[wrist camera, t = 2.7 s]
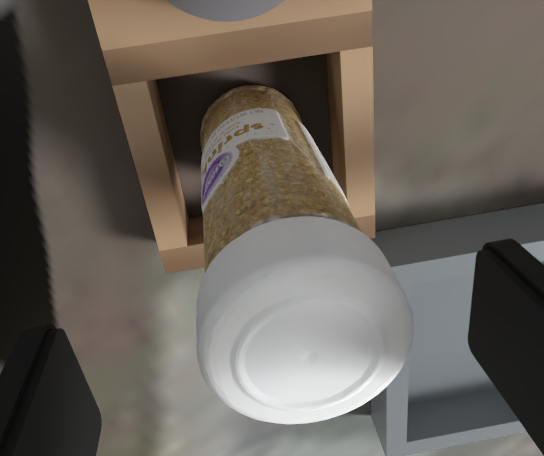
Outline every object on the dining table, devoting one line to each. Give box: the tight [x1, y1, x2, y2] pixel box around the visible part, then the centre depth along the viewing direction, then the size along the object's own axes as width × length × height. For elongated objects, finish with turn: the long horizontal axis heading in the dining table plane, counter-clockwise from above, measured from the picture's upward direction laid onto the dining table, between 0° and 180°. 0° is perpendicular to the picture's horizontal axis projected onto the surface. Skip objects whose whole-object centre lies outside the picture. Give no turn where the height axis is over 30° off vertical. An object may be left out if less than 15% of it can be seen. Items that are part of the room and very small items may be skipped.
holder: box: [88, 0, 375, 274], centre depth 17 cm, size 16×9×5 cm, turn 7°
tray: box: [371, 203, 544, 456], centre depth 27 cm, size 14×12×3 cm
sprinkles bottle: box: [196, 85, 414, 424], centre depth 16 cm, size 5×5×13 cm
